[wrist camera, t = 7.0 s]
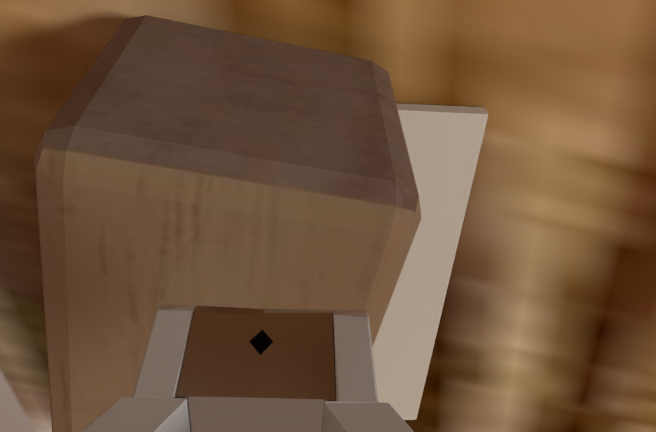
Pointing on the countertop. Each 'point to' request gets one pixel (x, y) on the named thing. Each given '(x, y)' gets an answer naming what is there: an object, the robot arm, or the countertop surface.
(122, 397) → the robot arm
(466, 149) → the mat
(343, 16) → the countertop surface
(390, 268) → the wooden block
